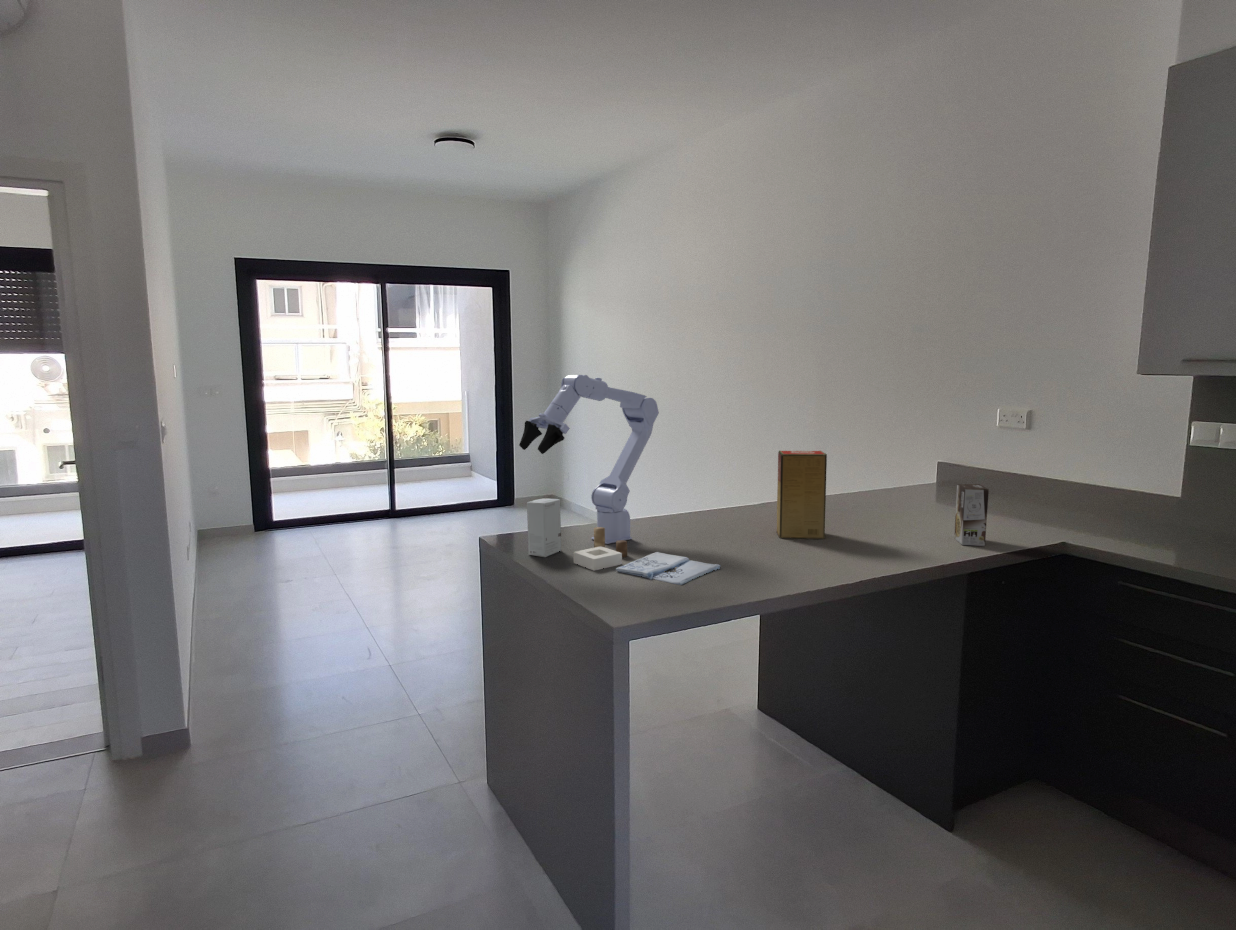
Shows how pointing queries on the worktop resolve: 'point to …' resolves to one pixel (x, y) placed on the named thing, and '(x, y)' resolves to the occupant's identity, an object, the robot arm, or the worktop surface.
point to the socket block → (597, 558)
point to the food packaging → (801, 494)
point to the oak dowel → (599, 537)
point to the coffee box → (971, 514)
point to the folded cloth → (667, 568)
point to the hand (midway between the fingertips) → (530, 449)
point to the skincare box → (544, 527)
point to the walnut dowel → (622, 547)
